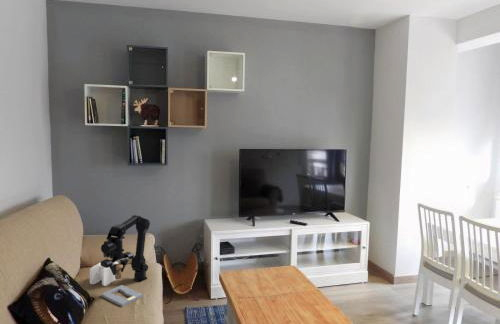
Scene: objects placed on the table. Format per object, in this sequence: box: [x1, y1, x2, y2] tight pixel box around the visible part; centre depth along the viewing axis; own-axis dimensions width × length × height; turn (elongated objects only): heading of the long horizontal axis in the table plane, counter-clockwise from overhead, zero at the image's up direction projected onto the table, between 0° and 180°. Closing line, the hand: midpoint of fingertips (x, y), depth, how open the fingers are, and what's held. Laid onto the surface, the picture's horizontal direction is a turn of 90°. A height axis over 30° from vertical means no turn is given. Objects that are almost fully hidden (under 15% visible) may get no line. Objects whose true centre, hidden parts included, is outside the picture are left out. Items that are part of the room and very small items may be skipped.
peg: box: [115, 262, 123, 280], centre depth 203 cm, size 5×5×8 cm
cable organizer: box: [89, 261, 119, 287], centre depth 219 cm, size 15×11×12 cm
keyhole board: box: [100, 284, 144, 307], centre depth 202 cm, size 20×14×2 cm
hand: (117, 273), depth 203 cm, fingers closed on peg, 5 cm apart
